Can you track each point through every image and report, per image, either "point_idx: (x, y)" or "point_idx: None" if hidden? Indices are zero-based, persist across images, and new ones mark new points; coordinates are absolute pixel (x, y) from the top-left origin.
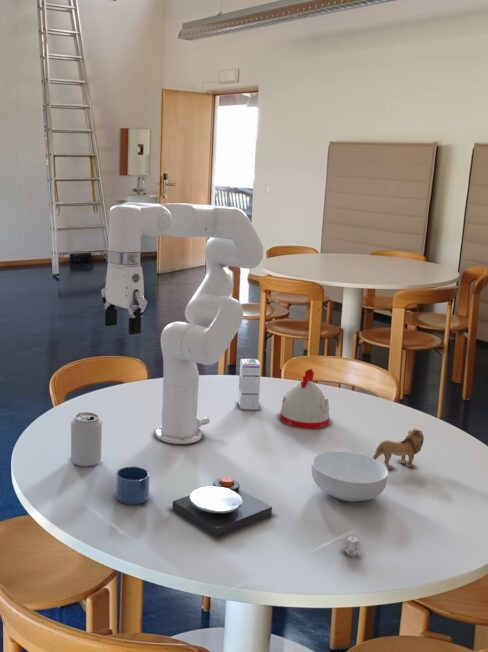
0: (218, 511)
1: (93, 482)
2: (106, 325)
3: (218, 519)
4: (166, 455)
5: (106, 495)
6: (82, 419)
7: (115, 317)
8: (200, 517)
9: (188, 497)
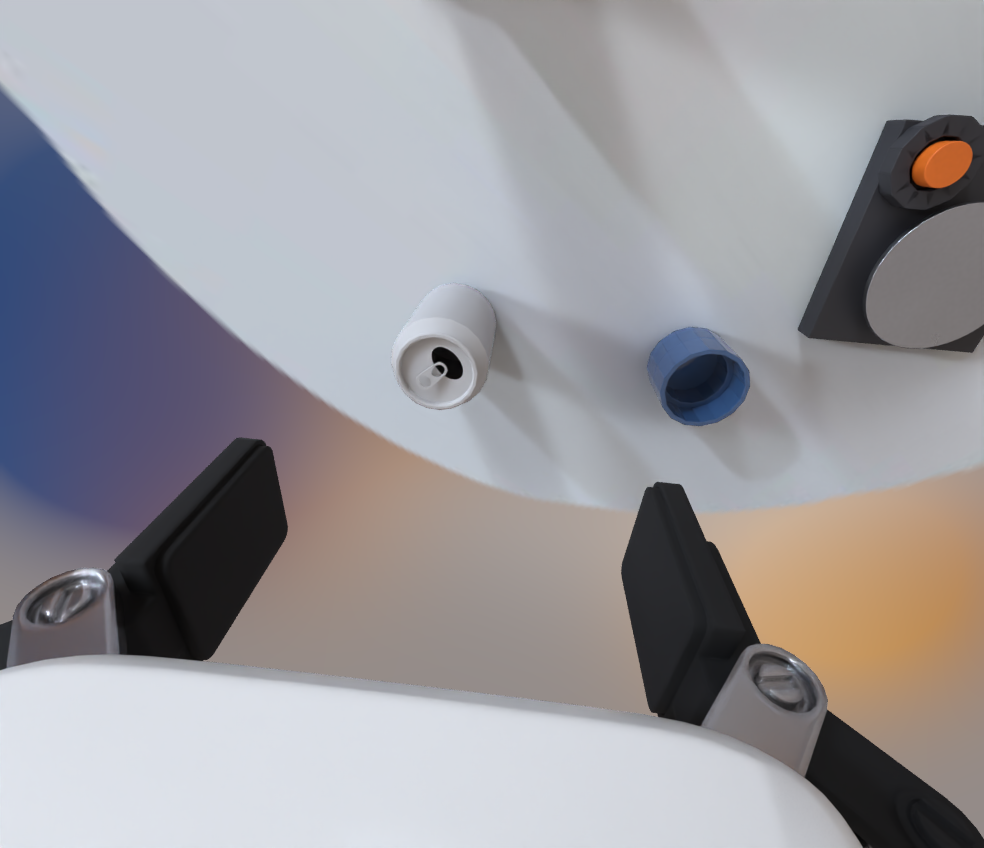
0: (977, 328)
1: (560, 375)
2: (281, 534)
3: None
4: (576, 78)
5: (628, 392)
6: (438, 386)
7: (232, 508)
8: None
9: (837, 294)
